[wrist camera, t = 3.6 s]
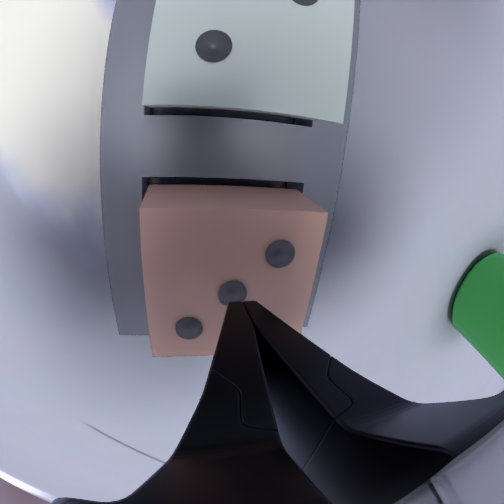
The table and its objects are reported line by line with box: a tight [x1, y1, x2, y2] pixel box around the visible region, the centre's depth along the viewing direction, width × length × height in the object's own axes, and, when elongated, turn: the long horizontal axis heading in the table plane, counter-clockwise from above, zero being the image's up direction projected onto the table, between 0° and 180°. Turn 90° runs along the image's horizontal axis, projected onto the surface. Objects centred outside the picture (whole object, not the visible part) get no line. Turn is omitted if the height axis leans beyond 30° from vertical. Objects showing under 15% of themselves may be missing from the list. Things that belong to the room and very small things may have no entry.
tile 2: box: [142, 0, 355, 124], centre depth 8 cm, size 6×6×3 cm
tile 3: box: [139, 185, 328, 357], centre depth 12 cm, size 6×6×3 cm
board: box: [100, 0, 360, 335], centre depth 10 cm, size 10×27×2 cm, turn 174°
